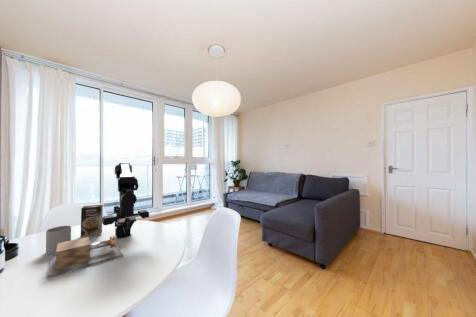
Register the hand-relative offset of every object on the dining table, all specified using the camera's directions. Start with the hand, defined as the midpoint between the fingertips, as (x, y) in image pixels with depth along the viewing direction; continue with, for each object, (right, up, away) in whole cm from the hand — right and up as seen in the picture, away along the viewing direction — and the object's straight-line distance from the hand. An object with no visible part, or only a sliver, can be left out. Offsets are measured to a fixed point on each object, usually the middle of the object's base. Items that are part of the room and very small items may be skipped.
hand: (126, 234), depth 90 cm
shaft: (-9, -4, -8) cm, 12 cm away
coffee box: (-29, -7, +16) cm, 33 cm away
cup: (-30, -6, -3) cm, 31 cm away
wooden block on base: (-11, -6, -10) cm, 16 cm away
